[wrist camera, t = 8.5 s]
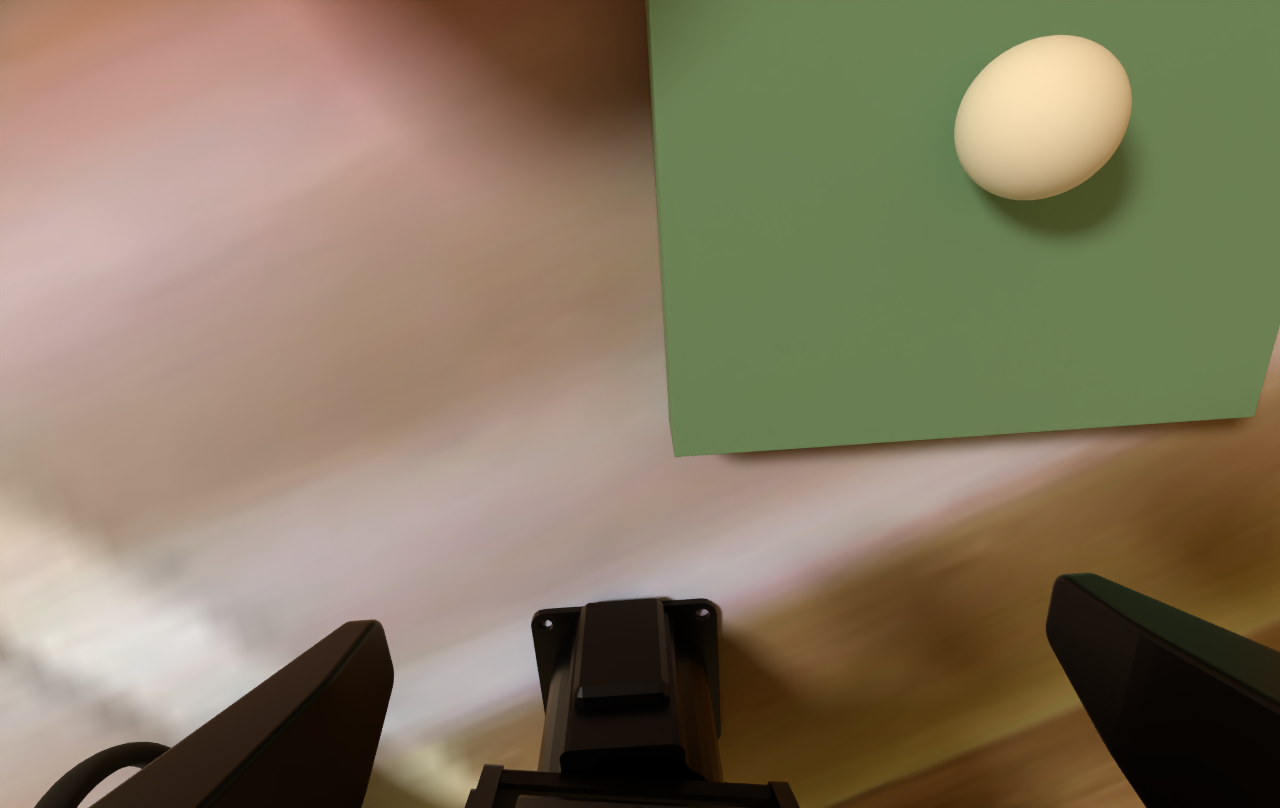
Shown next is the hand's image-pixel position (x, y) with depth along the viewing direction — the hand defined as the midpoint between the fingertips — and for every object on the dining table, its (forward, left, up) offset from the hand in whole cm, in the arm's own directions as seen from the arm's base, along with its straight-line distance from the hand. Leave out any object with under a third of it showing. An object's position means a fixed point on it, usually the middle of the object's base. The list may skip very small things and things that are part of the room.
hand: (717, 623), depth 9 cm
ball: (+6, -8, -8) cm, 13 cm away
